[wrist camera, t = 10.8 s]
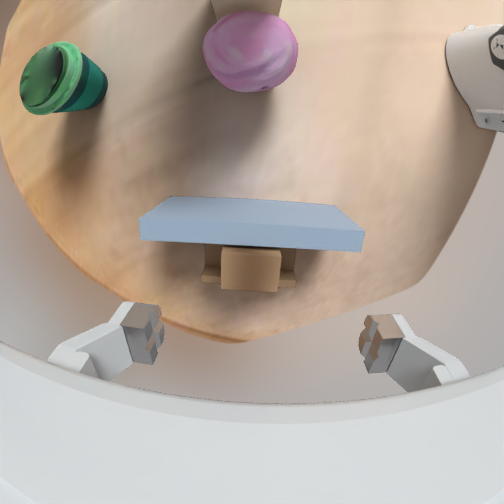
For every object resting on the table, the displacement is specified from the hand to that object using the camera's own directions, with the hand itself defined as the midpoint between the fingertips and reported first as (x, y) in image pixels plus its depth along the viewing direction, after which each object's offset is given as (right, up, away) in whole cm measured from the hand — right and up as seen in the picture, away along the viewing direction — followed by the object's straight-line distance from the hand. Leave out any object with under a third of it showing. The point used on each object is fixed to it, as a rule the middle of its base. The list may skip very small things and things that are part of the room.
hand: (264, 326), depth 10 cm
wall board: (-1, +5, +23) cm, 24 cm away
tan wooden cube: (-1, +4, +20) cm, 20 cm away
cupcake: (0, +24, +16) cm, 29 cm away
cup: (-20, +24, +16) cm, 36 cm away
